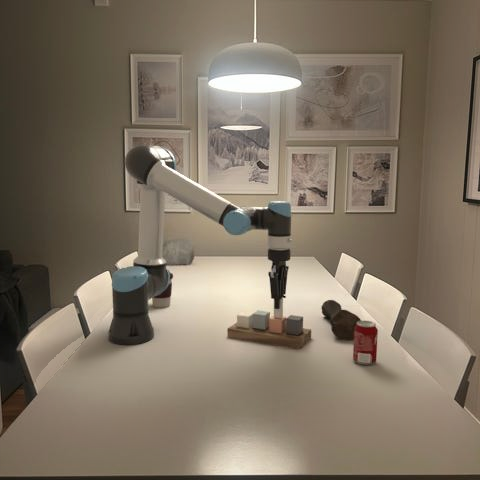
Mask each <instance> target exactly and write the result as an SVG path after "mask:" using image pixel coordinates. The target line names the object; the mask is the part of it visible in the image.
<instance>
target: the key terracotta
mask: <svg viewBox="0 0 480 480" xmlns="http://www.w3.org/2000/svg"><path fill="white" fill-rule="evenodd" d="M286 318H287V317H286V316H283V317H282V318H275V317H274V315H272V316H270V319H269V332H275V333H281V334H282V333H283V332H285V331H286Z"/></svg>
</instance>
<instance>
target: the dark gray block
mask: <svg viewBox="0 0 480 480" xmlns="http://www.w3.org/2000/svg"><path fill="white" fill-rule="evenodd" d="M303 328H304V316H301V315H294V314H290V315H289V316H287V317H286V333H289V334H295V335H299V334H300V333H301V332H302V331H303Z"/></svg>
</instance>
